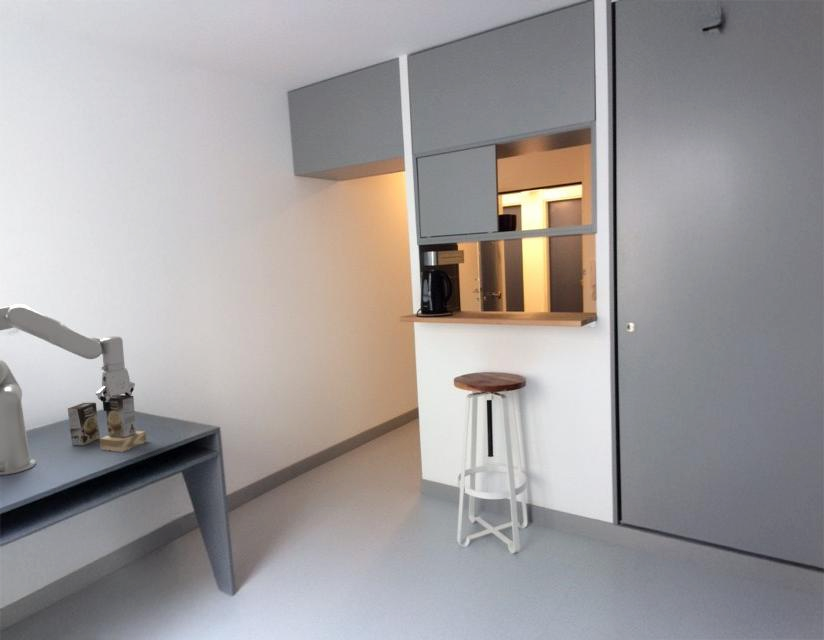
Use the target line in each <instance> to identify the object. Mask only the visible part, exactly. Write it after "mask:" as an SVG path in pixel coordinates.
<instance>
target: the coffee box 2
mask: <svg viewBox="0 0 824 640" xmlns="http://www.w3.org/2000/svg"><path fill="white" fill-rule="evenodd" d="M134 399H135V398H134V395H131V396H128V395H125V394H120V395H117V396H111V397H110V399H109V402H110V408H111V411H105V412H106V422H107V423H106V425H107V434H108V435H107V436H116V437H127V436H129V435H132V434H135V433H136V430H137V425H136V412H135V400H134Z"/></svg>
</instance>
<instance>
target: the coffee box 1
mask: <svg viewBox="0 0 824 640" xmlns="http://www.w3.org/2000/svg"><path fill="white" fill-rule="evenodd" d="M67 413H68V414H67V415H68V421H69V422H68V423H69V431H70V437H71V438H70V439H71V445H72V446H86V445H88V444H90V443H93V442H95V441H96V440H99V439H100V438H101V433H100V426H99V425H100V424H99V417H98V409H97V402H82V403H79V404H77V405H74V406H70V407H67Z"/></svg>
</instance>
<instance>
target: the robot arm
mask: <svg viewBox="0 0 824 640" xmlns="http://www.w3.org/2000/svg"><path fill="white" fill-rule="evenodd" d="M14 328H15V329H17V330H20V331H21V332H24V333H26V334H29V335H32V336H34V337H36V338H38V339H41V340H43V341H45V342H48V343H49V344H51V345H54V346H56V347H59V348H60V349H63V350H65V351H68V352H69V353H72V354H74V355H75V356H78V357H81V358H83V359H87V360H95V359H97V358H99V357H100V356H101V355H102V363H103V366H101V370H103V371H102V376H101V388H100V389H99V390H98V391H96V392H95V396H96V397H97V398H98V400H100V402H102V409H103V412H106V411H111V408H110V402H109V399H110V397H111V396H117V395H128V396H133V392H134V389H135V386H136V384H135V383H134V382H132V381H131V380H130V375H129V372H128V369H127V368H126V367H125V353H124V342H123V341H124V340H123V339H122V337H121V336H107V337H86V336H84V335H82V334H80V333H78V332H76V331H75V330H72V329H71V328H69V327H68V326H66V325H65V324H64V323H62V322H60V321H59V320H56V319H55V318H52V317H49V316H47V315H45V314H42V313H40V312H38V311H37V310H34V309H32V308H31V307H30V306H28V305H27V304H22V303H19V304H13V305H9V306H4V307H0V331H5V330H9V329H14ZM22 391H23V390H22V389H21V387H20V384H19V383H18V381H17V379H16V377H15V376H14V374H13V372H12V371H11V369H10V367H9V365H8V364H7V363H6V362H5V361H4V360H2V359H1V358H0V476H1V475H2V476H5V475H6V476H7V475H13V474H16V473H21V472H24V471H27V470H29V469H31V468H33V467H34V466H35V465H36V464H37V463H36V460H35V459H33V458H30V450H29V443H28V436H27V430H26V423H25V417H24V411H23V405H22V404H23V403H22V398H23V392H22Z"/></svg>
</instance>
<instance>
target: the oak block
mask: <svg viewBox="0 0 824 640" xmlns="http://www.w3.org/2000/svg"><path fill="white" fill-rule="evenodd" d="M146 433H147V432H146V431H145V430H137V429H136V433H135V434H132V435H129V436H127V437H116V436H108V435H105V436H103V437H100V438H99V439H98V440H99V447H100V450H102V449H103V451H109V450H111V452H116V453H118V452H119V453H123V451H124V452H125V450H126V451H128V450H131V449H132V447H133V448H135V447H137V445H138V446H139V444H140V445H142V444H145V443H147V442H146V441H147V434H146ZM144 442H145V443H144ZM141 443H142V444H141ZM134 446H135V447H134ZM130 448H131V449H130ZM127 449H128V450H127Z"/></svg>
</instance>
